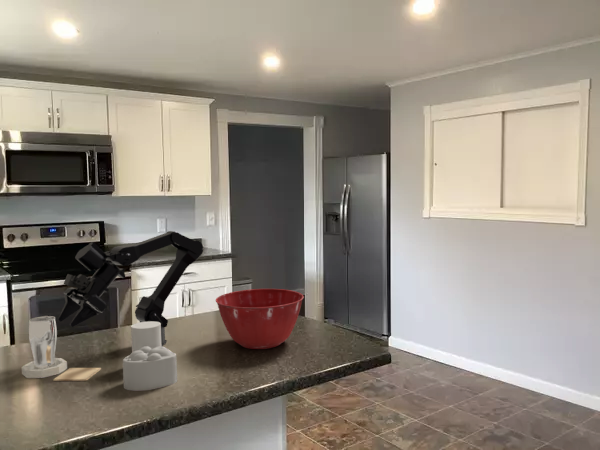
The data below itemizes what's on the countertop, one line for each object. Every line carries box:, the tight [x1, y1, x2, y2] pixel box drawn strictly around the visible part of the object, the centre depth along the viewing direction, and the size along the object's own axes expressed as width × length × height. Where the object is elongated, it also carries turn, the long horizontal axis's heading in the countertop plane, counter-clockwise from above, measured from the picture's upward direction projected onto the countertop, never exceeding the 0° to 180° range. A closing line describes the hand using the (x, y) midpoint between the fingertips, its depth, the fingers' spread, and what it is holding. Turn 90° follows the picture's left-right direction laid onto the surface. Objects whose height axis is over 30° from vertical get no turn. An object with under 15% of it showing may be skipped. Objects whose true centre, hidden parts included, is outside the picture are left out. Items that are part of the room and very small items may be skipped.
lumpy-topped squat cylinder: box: [122, 345, 178, 391], centre depth 134 cm, size 10×13×9 cm
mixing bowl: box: [215, 288, 305, 350], centre depth 167 cm, size 28×28×15 cm
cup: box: [130, 321, 162, 353], centre depth 147 cm, size 8×8×12 cm
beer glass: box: [28, 315, 58, 369], centre depth 144 cm, size 7×7×15 cm
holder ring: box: [21, 357, 68, 379], centre depth 144 cm, size 11×11×2 cm
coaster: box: [52, 367, 102, 382], centre depth 141 cm, size 9×9×1 cm
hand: (65, 323), depth 148 cm, fingers open, 9 cm apart
